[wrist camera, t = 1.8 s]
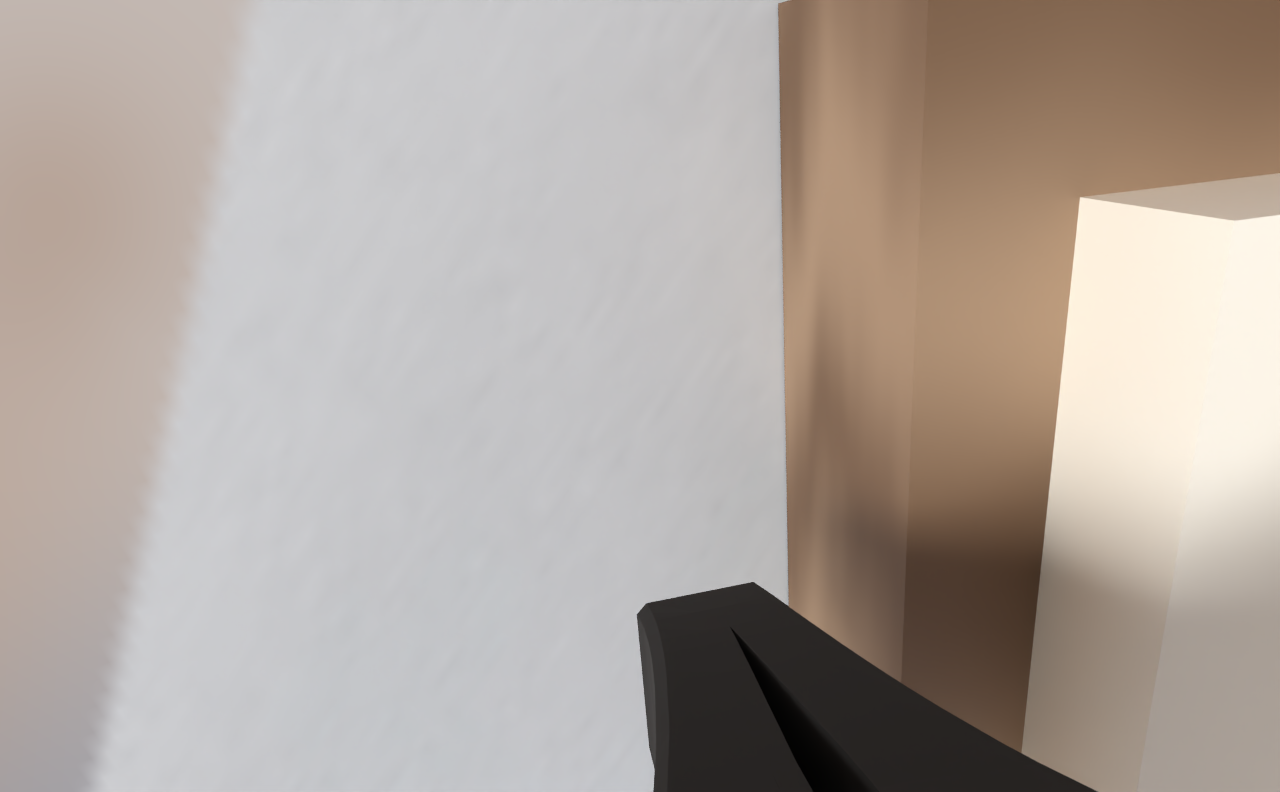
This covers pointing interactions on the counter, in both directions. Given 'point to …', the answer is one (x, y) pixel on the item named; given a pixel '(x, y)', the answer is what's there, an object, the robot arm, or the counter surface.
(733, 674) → the robot arm
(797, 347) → the wooden block
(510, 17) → the counter surface
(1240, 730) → the cream sticky note pad
